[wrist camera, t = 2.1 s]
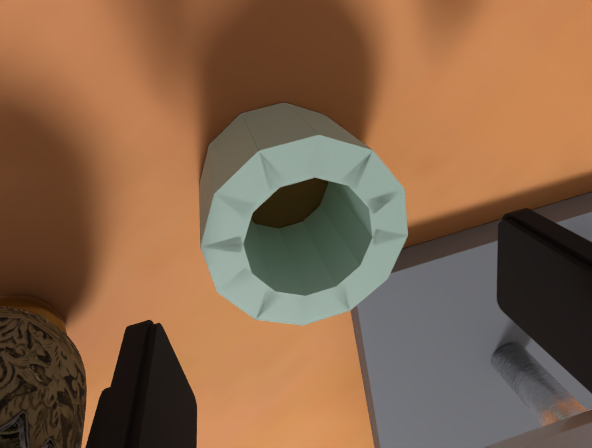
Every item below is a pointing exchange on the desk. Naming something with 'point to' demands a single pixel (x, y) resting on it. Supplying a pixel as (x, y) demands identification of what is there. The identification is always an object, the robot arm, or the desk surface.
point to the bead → (304, 235)
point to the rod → (534, 384)
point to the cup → (39, 377)
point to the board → (450, 343)
